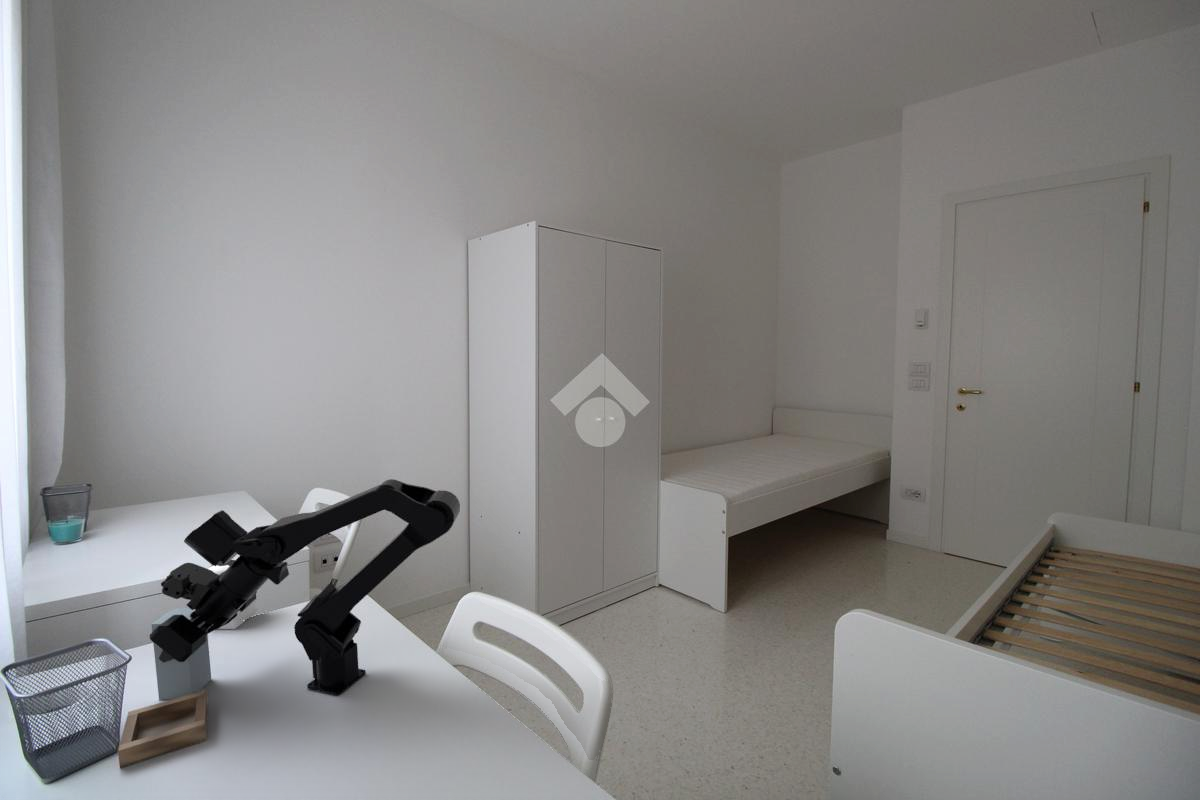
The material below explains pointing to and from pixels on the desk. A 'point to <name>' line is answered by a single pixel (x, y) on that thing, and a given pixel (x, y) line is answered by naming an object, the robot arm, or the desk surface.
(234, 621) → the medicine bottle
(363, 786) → the desk surface
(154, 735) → the walnut socket
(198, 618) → the robot arm
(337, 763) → the desk surface
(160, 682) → the grey key block
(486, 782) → the desk surface
